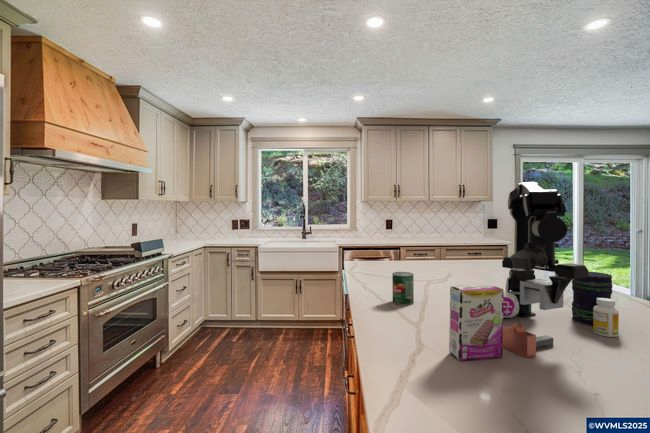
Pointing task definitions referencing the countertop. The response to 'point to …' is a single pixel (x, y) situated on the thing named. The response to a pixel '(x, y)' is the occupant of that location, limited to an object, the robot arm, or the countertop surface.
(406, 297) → the canned tomato
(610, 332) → the supplement bottle
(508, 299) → the supplement can
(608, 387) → the countertop surface
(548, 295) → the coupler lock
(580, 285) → the storage jar
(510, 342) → the coupler rail
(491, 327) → the candy bar box
